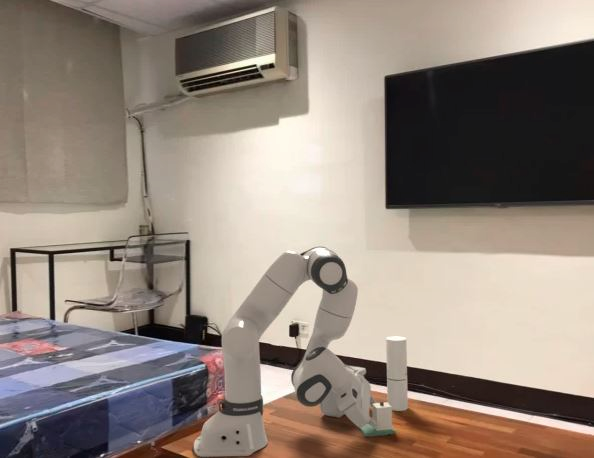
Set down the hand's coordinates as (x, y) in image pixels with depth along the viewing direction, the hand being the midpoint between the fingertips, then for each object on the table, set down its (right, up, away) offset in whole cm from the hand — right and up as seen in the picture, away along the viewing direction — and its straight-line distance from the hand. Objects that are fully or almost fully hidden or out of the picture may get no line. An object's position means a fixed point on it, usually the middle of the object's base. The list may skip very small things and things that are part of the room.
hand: (375, 415), depth 177 cm
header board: (0, -5, -1) cm, 5 cm away
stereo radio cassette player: (-8, -5, +20) cm, 22 cm away
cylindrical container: (+11, -4, +20) cm, 24 cm away
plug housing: (+2, -3, -1) cm, 4 cm away
